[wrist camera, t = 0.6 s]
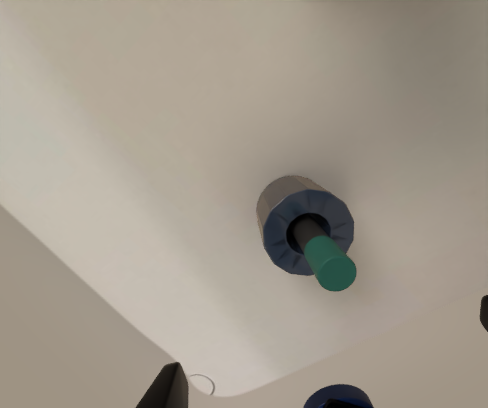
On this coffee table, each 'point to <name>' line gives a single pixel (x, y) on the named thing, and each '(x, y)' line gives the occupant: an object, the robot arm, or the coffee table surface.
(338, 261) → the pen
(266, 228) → the pen cup
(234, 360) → the coffee table surface
